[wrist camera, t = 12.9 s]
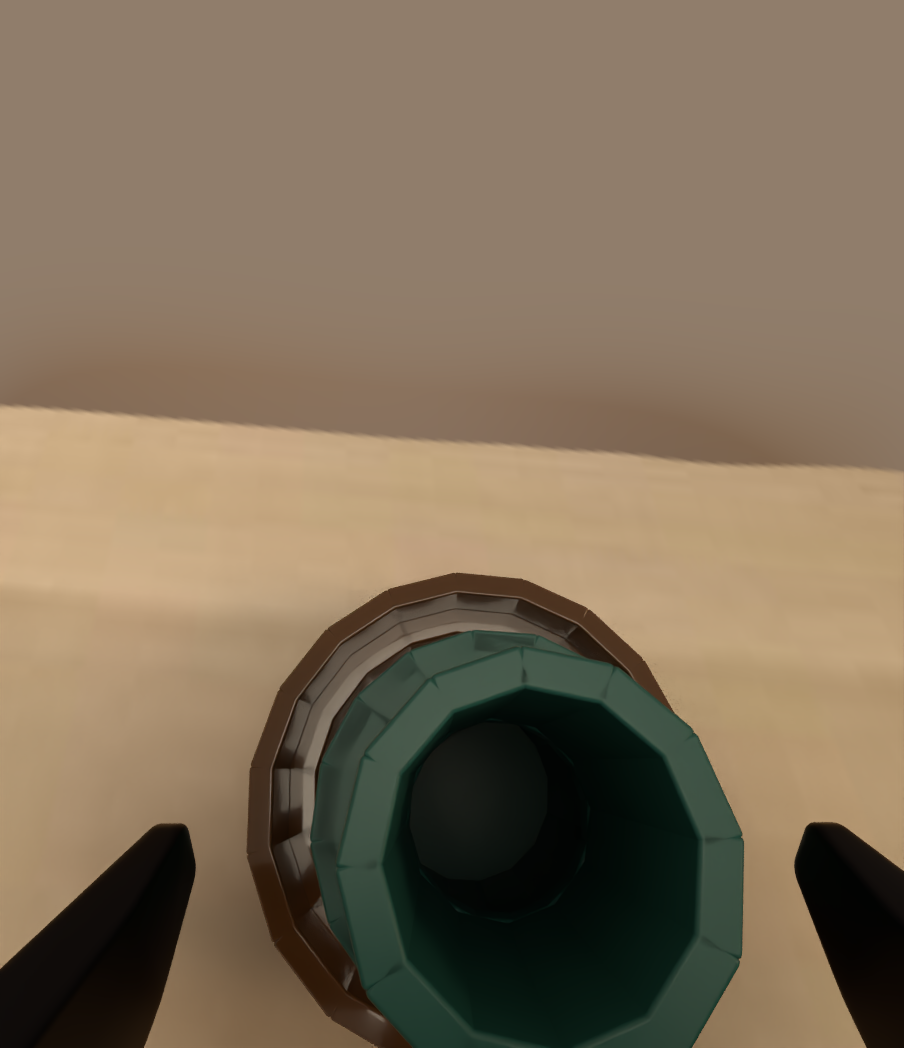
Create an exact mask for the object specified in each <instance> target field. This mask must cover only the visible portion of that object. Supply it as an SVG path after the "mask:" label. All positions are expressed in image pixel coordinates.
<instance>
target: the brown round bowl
mask: <svg viewBox="0 0 904 1048" xmlns="http://www.w3.org/2000/svg"><path fill="white" fill-rule="evenodd" d="M473 630H486V631H500V632H514V633H528V634H535V635H537V636H538V635H540V636H542V637H544V638H546V639H548V640H550V641H552V642H554V643H557V644H559V645H561V646H563V647H565V648H567V649H569V650H571V651H573V652H575V653H577V654H579V655H581V656H583V657H585V658H588V659H592V660H597V661H602V662H607V663H610V664H612V665H613V667H614V666H616V667H619V668H620V669H621V670H622V671H624V672H625V673H626V674H627V675H629V676H630V677H631V678H632V679H633V680H635V681H636V682H637V683H638V684H639V685H641V686H642V687H643V688H644V689H645V690H647V691H648V692H649V693H650V694H651V695H653V696H654V697H655V698H656V699H657V700H659V701H660V702H661V703H662V704H664V705H665V706H666V707H667V708H668V709H670V710H671V711H672V712H673V710H672V708H671V706H670V705H669V703H668V701H667V699H666V698H665V696H664V694H663V692H662V690H661V689H660V687H659V685H658V683H657V682H656V680H655V678H654V676H653V675H652V673H651V671H650V669H649V668H648V666H647V664H646V662H645V661H642V660H643V659H642V657H641V656H640V655H639V654H637V653H636V652H635V651H634V650H633V649H632V648H631V647H630V646H629V645H628V644H627V643H626V642H624V641H623V640H622V639H621V638H620V637H619V636H618V635H617V634H616V633H615V632H614V631H613V630H611V629H610V628H609V627H608V626H607V625H606V624H605V623H604V622H603V621H602V620H601V619H600V618H598V617H597V616H596V615H595V614H594V613H593V612H592V611H591V610H588V609H587V608H586V607H584V606H582V605H580V604H578V603H575V602H573V601H571V600H569V599H566V598H564V597H562V596H560V595H558V594H555V593H553V592H551V591H549V590H547V589H544V588H542V587H540V586H538V585H536V584H533V583H531V582H529V581H527V580H523V579H517V578H507V577H496V576H486V575H475V574H465V573H456V574H455V573H452V574H447V575H443V576H439V577H435V578H431V579H427V580H423V581H419V582H415V583H411V584H407V585H403V586H399V587H395V588H390V589H389V590H388V591H384V592H383V593H381V594H380V595H378V596H377V597H375V598H373V599H372V600H370V601H369V602H367V603H366V604H364V605H363V606H361V607H360V608H358V609H356V610H355V611H353V612H352V613H350V614H349V615H347V616H346V617H344V618H343V619H341V620H339V621H338V622H336V623H335V624H333V625H332V626H330V627H329V628H328V630H325V631H324V633H323V634H322V635H321V636H320V638H319V639H318V640H317V641H316V643H315V644H314V645H313V646H312V648H311V649H310V650H309V651H308V653H307V654H306V655H305V656H304V658H303V659H302V660H301V661H300V663H299V664H298V665H297V666H296V668H295V669H294V670H293V672H292V673H291V674H290V675H289V677H288V678H287V679H286V680H285V682H284V683H283V684H282V685H281V687H280V690H279V691H278V692H277V695H276V698H275V700H274V703H273V706H272V709H271V711H270V714H269V717H268V719H267V722H266V725H265V727H264V730H263V733H262V736H261V738H260V741H259V744H258V746H257V749H256V752H255V754H254V757H253V760H252V763H251V768H250V776H249V802H248V829H247V854H248V855H247V859H248V862H249V866H250V869H251V872H252V876H253V879H254V882H255V886H256V889H257V893H258V896H259V899H260V903H261V906H262V909H263V913H264V916H265V919H266V923H267V926H268V929H269V933H270V936H271V940H272V942H274V946H275V947H276V949H277V950H278V951H279V953H280V954H281V955H282V957H283V958H284V959H285V961H286V962H287V963H288V965H289V966H290V967H291V969H292V970H293V971H294V973H295V974H296V975H297V977H298V978H299V979H300V981H301V982H302V983H303V985H304V986H305V987H306V989H307V990H308V991H309V993H310V994H311V995H312V997H313V998H314V999H315V1001H316V1002H317V1003H318V1005H319V1006H320V1007H321V1009H322V1010H323V1011H324V1013H325V1014H326V1015H327V1016H328V1017H330V1018H331V1019H332V1020H333V1021H335V1022H336V1023H338V1024H340V1025H341V1026H343V1027H345V1028H346V1029H348V1030H350V1031H351V1032H353V1033H355V1034H357V1035H358V1036H360V1037H362V1038H363V1039H365V1040H367V1041H368V1042H370V1043H372V1044H373V1045H375V1046H377V1047H378V1048H412V1047H411V1045H410V1044H409V1043H408V1042H407V1041H406V1040H405V1039H404V1038H403V1037H402V1035H401V1034H400V1033H399V1032H398V1031H397V1030H396V1029H395V1028H394V1027H393V1025H392V1024H391V1023H390V1022H389V1021H388V1020H387V1019H386V1018H385V1017H384V1015H383V1014H382V1013H381V1012H380V1011H379V1010H378V1009H377V1008H376V1006H375V1005H374V1004H373V1003H372V1002H371V1001H370V1000H369V999H368V997H367V995H366V990H364V989H363V987H362V986H361V982H360V977H359V973H358V969H357V967H356V965H355V964H354V962H353V961H352V960H351V958H350V957H349V955H348V954H347V952H346V951H345V949H344V948H343V946H342V945H341V943H340V942H339V941H338V939H337V938H336V936H335V935H334V933H333V932H332V930H331V929H330V924H329V923H328V922H327V918H326V914H325V909H324V905H323V901H322V896H321V892H320V887H319V883H318V878H317V874H316V869H315V865H314V860H313V856H312V851H311V847H310V844H311V841H310V834H311V827H312V819H313V812H314V805H315V798H316V790H317V783H318V776H319V768H320V764H321V763H323V762H322V758H323V756H324V754H325V752H326V751H327V749H328V747H329V745H330V743H331V741H332V739H333V738H334V736H335V734H336V732H337V730H338V728H339V726H340V725H341V723H342V721H343V719H344V717H345V715H346V713H347V712H348V710H349V708H350V706H351V704H352V702H353V700H354V699H355V698H356V697H357V695H358V694H359V693H360V692H361V691H362V690H363V689H364V688H366V687H367V686H368V685H369V684H370V683H371V682H373V681H374V680H375V679H376V678H377V677H378V676H380V675H381V674H382V673H383V672H384V671H385V670H387V669H388V668H389V667H390V666H391V665H392V664H394V663H395V662H396V661H397V660H398V659H400V658H401V657H402V656H403V655H404V654H405V653H407V652H410V651H411V650H412V649H415V648H418V647H421V646H424V645H427V644H430V643H433V642H436V641H439V640H442V639H445V638H448V637H451V636H454V635H457V634H460V633H463V632H466V631H473ZM673 713H674V712H673ZM674 714H675V713H674Z"/></svg>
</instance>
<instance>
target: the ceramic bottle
mask: <svg viewBox="0 0 904 1048" xmlns="http://www.w3.org/2000/svg"><path fill="white" fill-rule="evenodd" d="M693 732H694V731H693V730H692V728H691V727H690V726H689V725H688V724H686V723H685V722H684V721H683V720H682V719H680V718H679V717H678V716H677V715H676V714H674V713H673V712H672V711H671V710H670V709H668V708H667V707H666V706H665V705H664V704H662V703H661V702H660V701H659V700H657V699H656V698H655V697H654V696H653V695H651V694H650V693H649V692H648V691H647V690H645V689H644V688H643V687H642V686H641V685H639V684H638V683H637V682H636V681H635V680H633V679H632V678H631V677H630V676H629V675H627V674H626V673H625V672H624V671H622V670H621V669H620V668H619V667H616V666H614V667H613V665H612V664H610V663H607V662H602V661H597V660H592V659H588V658H585V657H583V656H581V655H579V654H577V653H575V652H573V651H571V650H569V649H567V648H565V647H563V646H561V645H559V644H557V643H554V642H552V641H550V640H548V639H546V638H544V637H542V636H540V635H538V636H537V635H535V634H528V633H514V632H500V631H486V630H473V631H466V632H463V633H460V634H457V635H454V636H451V637H448V638H445V639H442V640H439V641H436V642H433V643H430V644H427V645H424V646H421V647H418V648H415V649H412V650H411V651H410V652H407V653H405V654H404V655H403V656H402V657H401V658H400V659H398V660H397V661H396V662H395V663H394V664H392V665H391V666H390V667H389V668H388V669H387V670H385V671H384V672H383V673H382V674H381V675H380V676H378V677H377V678H376V679H375V680H374V681H373V682H371V683H370V684H369V685H368V686H367V687H366V688H364V689H363V690H362V691H361V692H360V693H359V694H358V695H357V697H356V698H355V699H354V700H353V702H352V704H351V706H350V708H349V710H348V712H347V713H346V715H345V717H344V719H343V721H342V723H341V725H340V726H339V728H338V730H337V732H336V734H335V736H334V738H333V739H332V741H331V743H330V745H329V747H328V749H327V751H326V752H325V754H324V756H323V758H322V762H323V763H321V764H320V768H319V776H318V783H317V790H316V798H315V805H314V812H313V819H312V827H311V834H310V841H311V844H310V847H311V851H312V856H313V860H314V865H315V869H316V874H317V878H318V883H319V887H320V892H321V896H322V901H323V905H324V909H325V914H326V918H327V922H328V923H329V924H330V929H331V930H332V932H333V933H334V935H335V936H336V938H337V939H338V941H339V942H340V943H341V945H342V946H343V948H344V949H345V951H346V952H347V954H348V955H349V957H350V958H351V960H352V961H353V962H354V964H355V965H356V967H357V969H358V973H359V977H360V982H361V986H362V987H363V989H364V990H366V995H367V997H368V999H369V1000H370V1001H371V1002H372V1003H373V1004H374V1005H375V1006H376V1008H377V1009H378V1010H379V1011H380V1012H381V1013H382V1014H383V1015H384V1017H385V1018H386V1019H387V1020H388V1021H389V1022H390V1023H391V1024H392V1025H393V1027H394V1028H395V1029H396V1030H397V1031H398V1032H399V1033H400V1034H401V1035H402V1037H403V1038H404V1039H405V1040H406V1041H407V1042H408V1043H409V1044H410V1045H411V1047H412V1048H692V1047H693V1045H694V1043H695V1041H696V1040H697V1038H698V1036H699V1034H700V1033H701V1031H702V1029H703V1028H704V1026H705V1024H706V1022H707V1021H708V1019H709V1017H710V1015H711V1014H712V1012H713V1010H714V1008H715V1007H716V1005H717V1003H718V1002H719V1000H720V998H721V996H722V995H723V993H724V991H725V989H726V988H727V986H728V984H729V982H730V981H731V979H732V977H733V975H734V974H735V972H736V970H737V969H738V967H739V963H740V961H739V958H741V956H742V928H743V871H744V841H743V839H742V838H741V836H742V832H741V829H740V827H739V825H738V823H737V821H736V818H735V816H734V814H733V812H732V810H731V807H730V805H729V803H728V801H727V799H726V796H725V794H724V792H723V790H722V788H721V786H720V783H719V781H718V779H717V777H716V775H715V772H714V770H713V768H712V766H711V764H710V762H709V759H708V757H707V755H706V753H705V751H704V748H703V746H702V744H701V742H700V740H699V738H698V736H697V735H696V734H695V733H693Z"/></svg>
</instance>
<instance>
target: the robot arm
mask: <svg viewBox="0 0 904 1048" xmlns="http://www.w3.org/2000/svg"><path fill="white" fill-rule="evenodd" d="M794 868H795V874H796V878H797V881H798V884H799V887H800V889H801V892H802V894H803V897H804V900H805V902H806V905H807V907H808V910H809V913H810V915H811V918H812V920H813V923H814V926H815V928H816V931H817V933H818V936H819V939H820V941H821V944H822V946H823V949H824V952H825V954H826V957H827V959H828V962H829V965H830V967H831V970H832V972H833V975H834V978H835V980H836V982H837V985H838V987H839V990H840V992H841V995H842V997H843V999H844V1001H845V1003H846V1006H847V1008H848V1010H849V1012H850V1014H851V1016H852V1019H853V1021H854V1023H855V1025H856V1027H857V1029H858V1031H859V1033H860V1035H861V1037H862V1039H863V1041H864V1043H865V1045H866V1047H867V1048H904V871H903V870H902V869H900V868H899V867H898V866H896V865H895V864H894V863H892V862H891V861H890V860H888V859H887V858H886V857H884V856H883V855H882V854H880V853H879V852H878V851H876V850H875V849H874V848H872V847H871V846H870V845H868V844H867V843H866V842H864V841H863V840H862V839H860V838H859V837H858V836H856V835H855V834H854V833H852V832H851V831H850V830H848V829H847V828H846V827H844V826H842V825H840V824H838V823H833V822H813V823H810V824H809V825H808V826H807V827H806V828H805V831H804V834H803V837H802V840H801V843H800V846H799V849H798V852H797V854H796V857H795V863H794ZM195 871H196V863H195V858H194V853H193V848H192V844H191V839H190V835H189V831H188V828H187V827H186V825H184V824H158V825H155V826H154V827H152V828H151V829H150V830H149V831H148V832H147V833H145V834H144V835H143V836H142V837H141V838H140V839H139V840H138V841H137V842H136V843H135V844H134V845H133V846H132V847H130V848H129V849H128V850H127V851H126V852H125V853H124V854H123V855H122V856H121V857H120V858H119V859H118V860H116V861H115V862H114V863H113V864H112V865H111V866H110V867H109V868H108V869H107V870H106V871H105V872H104V873H103V874H101V875H100V876H99V877H98V878H97V879H96V880H95V881H94V882H93V883H92V884H91V885H90V886H89V887H88V888H86V889H85V890H84V891H83V892H82V893H81V894H80V895H79V896H78V897H77V898H76V899H75V900H74V901H73V902H71V903H70V904H69V905H68V906H67V907H66V908H65V909H64V910H63V911H62V912H61V913H60V914H59V915H58V916H56V917H55V918H54V919H53V920H52V921H51V922H50V923H49V924H48V925H47V926H46V927H45V928H44V929H43V930H41V931H40V932H39V933H38V934H37V935H36V936H35V937H34V938H33V939H32V940H31V941H30V942H29V943H27V944H26V945H25V946H24V947H23V948H22V949H21V950H20V951H19V952H18V953H17V954H16V955H15V956H14V957H12V958H11V959H10V960H9V961H8V962H7V963H6V964H5V965H4V966H3V967H2V968H1V969H0V1048H144V1046H145V1043H146V1041H147V1038H148V1035H149V1033H150V1030H151V1027H152V1025H153V1022H154V1019H155V1016H156V1013H157V1010H158V1008H159V1005H160V1002H161V998H162V995H163V992H164V988H165V985H166V981H167V978H168V974H169V971H170V967H171V963H172V960H173V956H174V952H175V949H176V945H177V941H178V938H179V934H180V930H181V927H182V923H183V919H184V916H185V912H186V908H187V905H188V901H189V897H190V894H191V890H192V886H193V883H194V878H195Z"/></svg>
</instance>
